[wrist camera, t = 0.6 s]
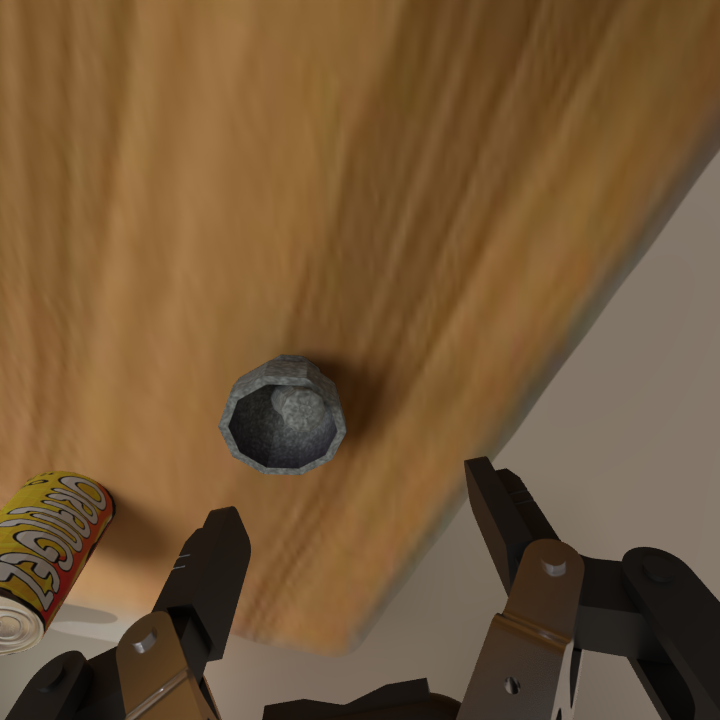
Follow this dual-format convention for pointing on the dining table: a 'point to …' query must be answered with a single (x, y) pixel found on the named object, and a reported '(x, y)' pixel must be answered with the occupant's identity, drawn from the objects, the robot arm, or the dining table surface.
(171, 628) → the robot arm
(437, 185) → the dining table surface
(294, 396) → the mortar and pestle
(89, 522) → the beverage can
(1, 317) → the dining table surface
